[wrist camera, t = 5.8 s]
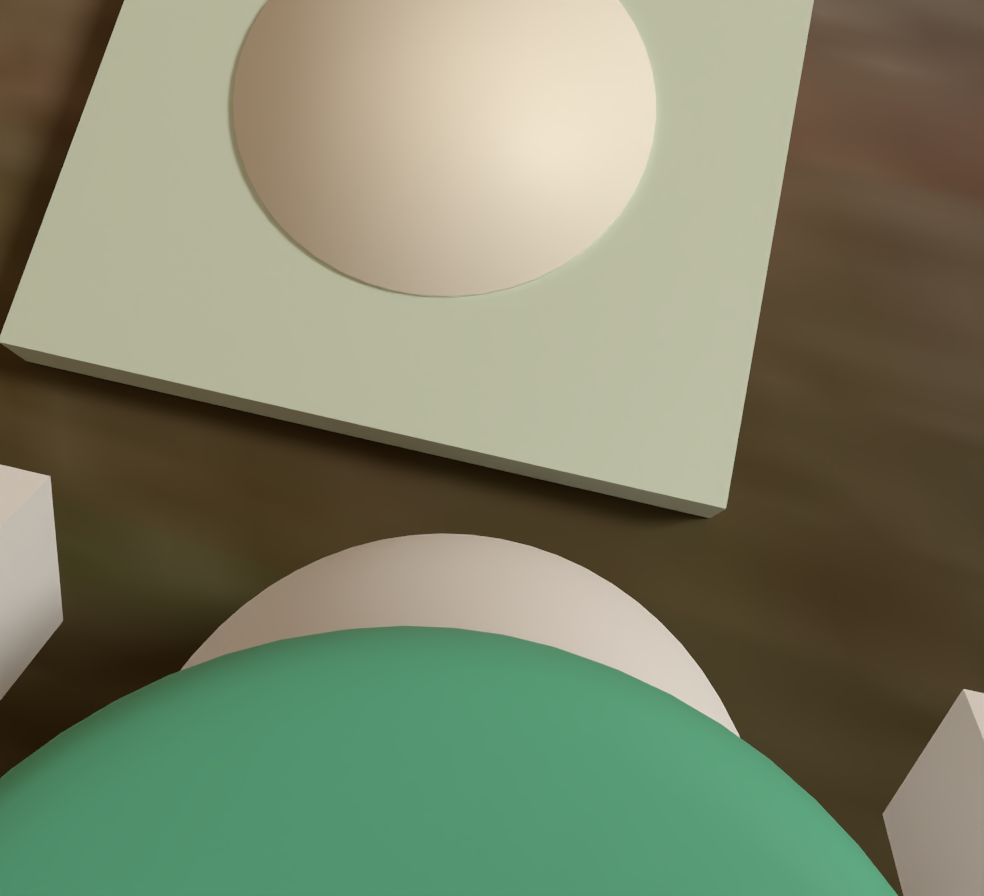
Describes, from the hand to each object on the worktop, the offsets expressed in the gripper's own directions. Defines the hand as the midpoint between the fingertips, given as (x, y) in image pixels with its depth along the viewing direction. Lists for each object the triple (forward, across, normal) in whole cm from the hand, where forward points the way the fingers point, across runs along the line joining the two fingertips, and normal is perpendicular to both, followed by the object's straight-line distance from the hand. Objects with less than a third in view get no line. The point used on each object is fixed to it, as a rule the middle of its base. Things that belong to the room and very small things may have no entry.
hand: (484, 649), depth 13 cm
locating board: (+16, -4, +3) cm, 17 cm away
